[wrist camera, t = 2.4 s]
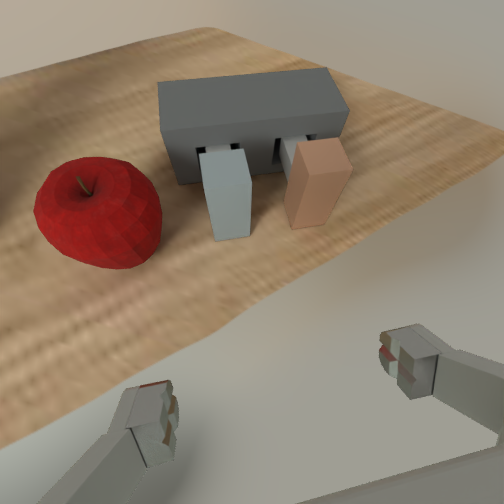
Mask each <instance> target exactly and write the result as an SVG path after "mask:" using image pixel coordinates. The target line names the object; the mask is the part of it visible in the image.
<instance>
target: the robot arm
mask: <svg viewBox="0 0 504 504" xmlns="http://www.w3.org/2000/svg"><path fill="white" fill-rule="evenodd" d="M380 342H381V343H382V344H383V345H382V347H381V348H380V349H379V358H380V362H381V365H382V366H383V368H384V370H385V371H386V372H387V373H388V374H389V375H390V376H392V377H394V378H396V379H397V385H398V386H399V387H400V389H401V390H402V391H403V392H404V393H405V394H406V396H407V397H408V398H409V399H410V400H412V399H416V398H421V397H425V396H430V395H433V397H435V398H437V399H438V400H440V401H442V402H443V403H445V404H447V405H449V406H450V407H452V408H454V409H456V410H457V411H459V412H461V413H462V414H464V415H466V416H468V417H469V418H471V419H473V420H474V421H476V422H478V423H480V424H481V425H483V426H485V427H487V428H488V429H490V430H492V431H493V432H495V433H497V434H499V435H498V439H497V443H496V446H495V447H491V448H488V449H484V450H481V451H477V452H474V453H470V454H467V455H463V456H460V457H456V458H453V459H449V460H447V461H442V462H439V463H436V464H432V465H429V466H425V467H422V468H418V469H415V470H411V471H408V472H405V473H401V474H397V475H394V476H391V477H387V478H384V479H380V480H377V481H373V482H369V483H366V484H363V485H359V486H356V487H352V488H349V489H345V490H342V491H338V492H335V493H332V494H328V495H325V496H321V497H318V498H314V499H311V500H307V501H304V502H300V503H297V504H504V364H501V363H498V362H495V361H492V360H489V359H486V358H483V357H480V356H477V355H474V354H471V353H468V352H465V351H463V350H455V349H453V348H452V347H451V346H449V345H448V344H446V343H445V342H444V341H443V340H441V339H440V338H439V337H437V336H436V335H434V334H433V333H432V332H430V331H429V330H428V329H426V328H425V327H424V326H422V325H420V324H414V325H409V326H406V327H402V328H398V329H393V330H389V331H384V332H381V334H380ZM172 392H173V386H172V383H171V381H170V380H166V381H160V382H155V383H151V384H145V385H141V386H137V387H132V388H127V389H126V390H125V391H124V392H123V394H122V396H121V399H120V401H119V404H118V407H117V409H116V412H115V414H114V417H113V420H112V422H111V425H110V427H109V430H108V432H107V434H105V435H102V436H101V437H100V438H99V439H98V440H97V441H96V442H95V443H94V444H93V445H92V446H91V447H90V448H89V449H88V450H87V451H86V453H85V454H84V455H83V456H82V457H81V458H80V459H79V460H78V461H77V462H76V463H75V464H74V465H73V466H72V467H71V468H70V469H69V470H68V471H67V472H66V473H65V475H64V476H63V477H62V478H61V479H60V480H59V481H58V482H57V483H56V484H55V485H54V486H53V487H52V488H51V489H50V490H49V492H47V493H46V495H44V497H43V498H42V499H41V500H40V501H39V502H38V503H37V504H127V503H128V501H129V499H130V498H131V496H132V494H133V492H134V491H135V489H136V488H137V486H138V484H139V483H140V481H141V479H142V478H143V476H144V474H145V473H146V471H147V468H149V467H153V466H156V465H160V464H163V463H167V462H170V461H173V460H174V455H175V447H176V436H175V433H174V431H175V430H176V428H177V427H178V422H179V408H178V402H177V399H176V397H175V396H174V395H172Z"/></svg>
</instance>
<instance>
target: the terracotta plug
mask: <svg viewBox="0 0 504 504" xmlns="http://www.w3.org/2000/svg"><path fill="white" fill-rule="evenodd" d="M279 157H280V160H281V163H282V166H283V169H284V172H285V175H286V178H287V181H288V185H287V189H286V193H285V198H284V205H285V208H286V212H287V215H288V218H289V222H290V225H291V228H292V229H298V228H304V227H311V226H317V225H323V224H325V222H326V220H327V218H328V216H329V215H330V213H331V211H332V209H333V207H334V205H335V203H336V201H337V200H338V198H339V196H340V194H341V192H342V190H343V188H344V186H345V185H346V183H347V181H348V179H349V177H350V175H351V173H352V171H353V167H352V165H351V163H350V161H349V159H348V157H347V155H346V153H345V151H344V148H343V146H342V144H341V142H340V140H339V138H338V137H337V138H329V139H320V140H312V141H308V140H307V138H306V135H301V136H292V137H283V138H281V143H280V150H279Z"/></svg>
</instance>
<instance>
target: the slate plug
mask: <svg viewBox="0 0 504 504" xmlns="http://www.w3.org/2000/svg"><path fill="white" fill-rule="evenodd" d="M205 148H206V153H202V154H199V158H200V165H201V172H202V179H203V186H204V192H205V197H206V201H207V206H208V210H209V215H210V219H211V224H212V229H213V233H214V238H215V241H221V240H227V239H234V238H240V237H246V236H250V221H251V197H252V181H251V177H250V173H249V169H248V164H247V160H246V156H245V152H244V149H236V150H231V147H230V144H223V145H214V146H205Z"/></svg>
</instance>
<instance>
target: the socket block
mask: <svg viewBox="0 0 504 504" xmlns="http://www.w3.org/2000/svg"><path fill="white" fill-rule="evenodd" d="M158 98H159V116H160V131H161V134H162V137H163V140H164V143H165V146H166V149H167V152H168V155H169V158H170V160H171V163H172V166H173V169H174V172H175V175H176V178H177V181H178V184H179V185H183V184H191V183H198V182H203V179H202V172H201V165H200V158H199V154H202V153H206V148H205V146H214V145H223V144H230V147H231V150H236V149H244V152H245V156H246V160H247V164H248V169H249V173H250V176H252V175H260V174H267V173H275V172H283V171H284V169H283V166H282V163H281V160H280V157H279V150H280V143H281V138H283V137H292V136H301V135H306V138H307V140H308V141H312V140H320V139H329V138H337V137H338V138H339V137H340V134H341V132H342V129H343V127H344V124H345V122H346V119H347V117H348V114H349V112H350V110H349V108H348V106H347V105H346V103H345V101H344V99H343V97H342V95H341V93H340V92H339V90H338V88H337V86H336V84H335V82H334V80H333V79H332V77H331V75H330V73H329V71H328V69H327V67H326V68H315V69H303V70H292V71H280V72H269V73H257V74H246V75H234V76H223V77H211V78H200V79H188V80H177V81H165V82H158Z"/></svg>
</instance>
